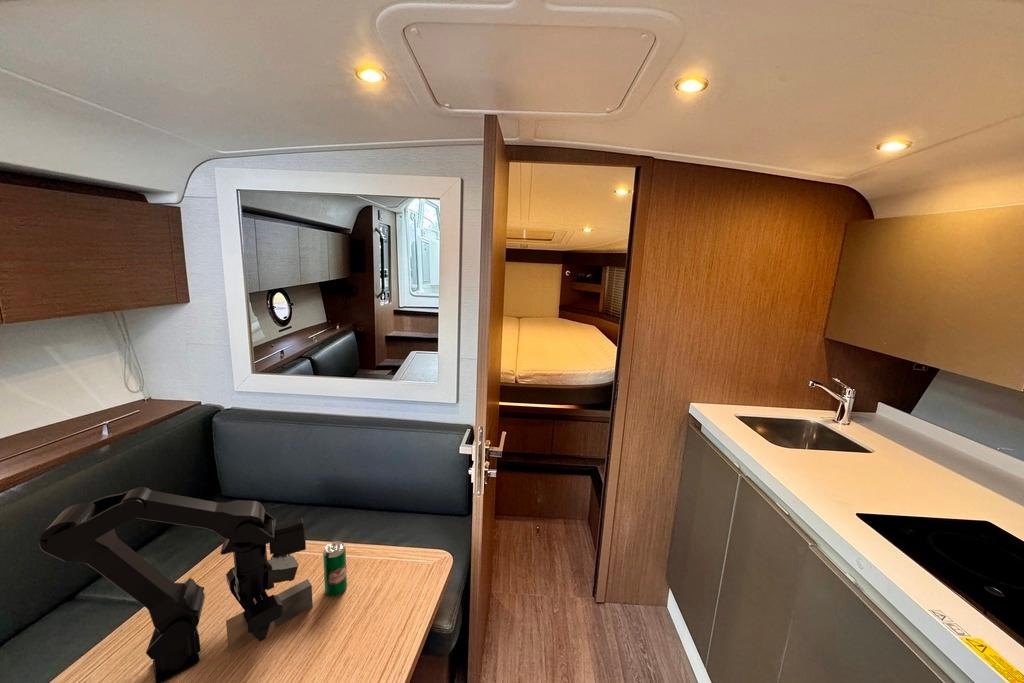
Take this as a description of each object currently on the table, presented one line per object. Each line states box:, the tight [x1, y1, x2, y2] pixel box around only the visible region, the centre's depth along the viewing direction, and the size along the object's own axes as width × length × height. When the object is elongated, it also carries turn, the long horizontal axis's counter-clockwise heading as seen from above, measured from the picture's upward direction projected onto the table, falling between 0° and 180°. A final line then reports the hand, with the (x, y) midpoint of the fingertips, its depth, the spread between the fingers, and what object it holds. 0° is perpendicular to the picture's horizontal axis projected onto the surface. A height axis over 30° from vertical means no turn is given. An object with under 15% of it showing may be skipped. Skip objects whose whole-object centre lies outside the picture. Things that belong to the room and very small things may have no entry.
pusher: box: [225, 578, 314, 654], centre depth 86 cm, size 16×2×6 cm, turn 137°
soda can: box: [322, 540, 348, 597], centre depth 95 cm, size 5×5×12 cm
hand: (256, 626), depth 84 cm, fingers open, 9 cm apart
